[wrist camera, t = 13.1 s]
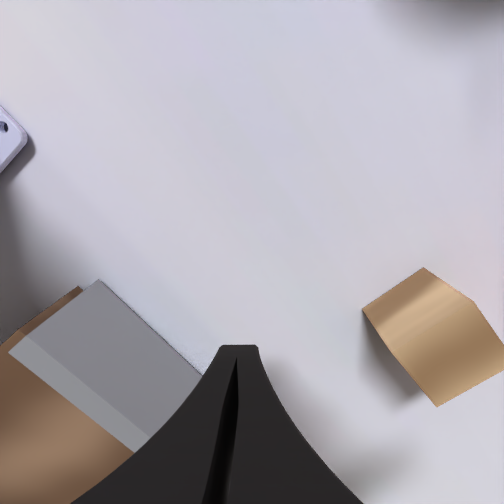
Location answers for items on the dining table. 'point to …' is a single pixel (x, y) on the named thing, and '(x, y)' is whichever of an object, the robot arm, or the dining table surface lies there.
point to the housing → (47, 434)
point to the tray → (109, 365)
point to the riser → (437, 336)
